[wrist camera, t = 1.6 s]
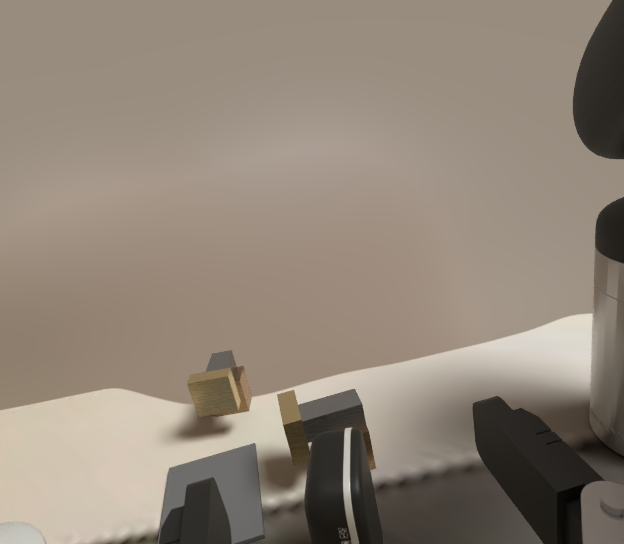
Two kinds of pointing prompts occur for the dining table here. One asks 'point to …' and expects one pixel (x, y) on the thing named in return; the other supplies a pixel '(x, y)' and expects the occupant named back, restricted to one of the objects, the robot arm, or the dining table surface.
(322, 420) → the set of rectangular blocks
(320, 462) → the battery charger
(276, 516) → the dining table surface
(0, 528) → the candlestick
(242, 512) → the plate
